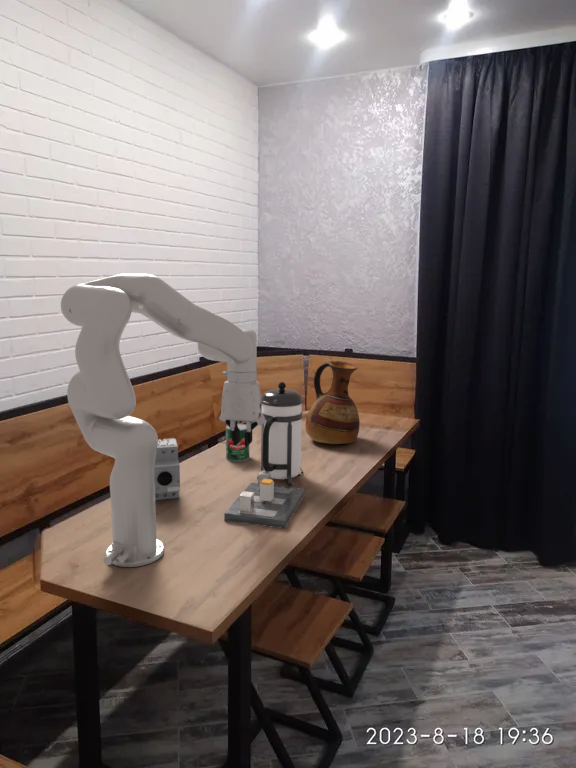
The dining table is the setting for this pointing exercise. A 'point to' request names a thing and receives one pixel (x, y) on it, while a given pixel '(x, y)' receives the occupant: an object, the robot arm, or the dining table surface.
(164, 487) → the circuit breaker
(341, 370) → the ceramic pitcher
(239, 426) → the canned tomato
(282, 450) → the coffee press
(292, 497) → the panel
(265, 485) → the toggle
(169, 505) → the dining table surface
